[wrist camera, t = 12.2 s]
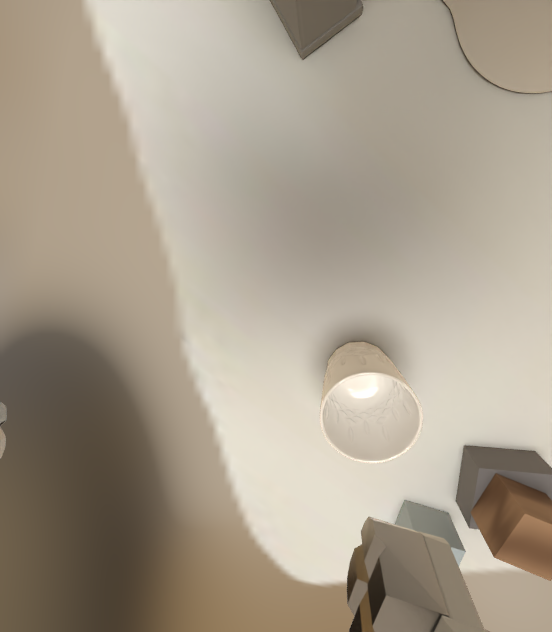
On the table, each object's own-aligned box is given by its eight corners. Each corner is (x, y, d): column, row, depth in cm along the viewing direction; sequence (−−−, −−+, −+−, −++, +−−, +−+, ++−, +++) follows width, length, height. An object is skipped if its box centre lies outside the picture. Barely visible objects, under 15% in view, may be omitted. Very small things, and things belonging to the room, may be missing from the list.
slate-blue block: (404, 499, 39) (415, 536, 34) (448, 512, 39) (465, 551, 34) (390, 533, 40) (399, 573, 36) (433, 546, 40) (447, 588, 35)
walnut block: (495, 473, 33) (525, 513, 28) (546, 493, 33) (584, 537, 28) (470, 512, 34) (494, 557, 29) (518, 532, 34) (550, 580, 29)
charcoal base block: (463, 443, 37) (479, 468, 33) (533, 449, 36) (558, 475, 32) (454, 498, 39) (469, 528, 35) (522, 506, 38) (544, 536, 34)
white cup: (389, 410, 37) (412, 471, 27) (316, 398, 38) (313, 454, 28) (403, 341, 35) (432, 380, 25) (326, 330, 36) (326, 365, 26)
